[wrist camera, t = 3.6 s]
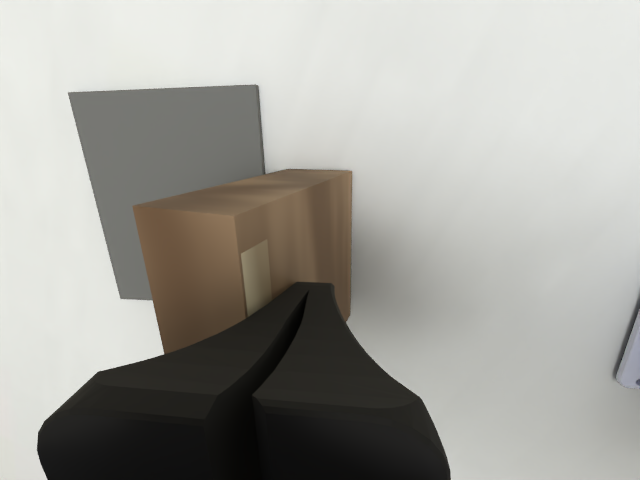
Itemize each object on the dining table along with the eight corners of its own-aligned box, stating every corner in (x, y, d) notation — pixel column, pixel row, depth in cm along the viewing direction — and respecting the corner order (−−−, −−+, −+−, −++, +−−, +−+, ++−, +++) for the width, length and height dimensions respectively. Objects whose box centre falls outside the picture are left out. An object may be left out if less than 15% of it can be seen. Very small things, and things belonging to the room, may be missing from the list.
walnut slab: (352, 170, 15) (234, 215, 8) (350, 314, 18) (261, 458, 10) (287, 169, 17) (131, 205, 9) (295, 303, 19) (179, 422, 11)
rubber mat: (258, 85, 15) (255, 84, 15) (274, 302, 19) (273, 306, 19) (74, 93, 17) (67, 92, 16) (124, 295, 21) (120, 298, 20)
